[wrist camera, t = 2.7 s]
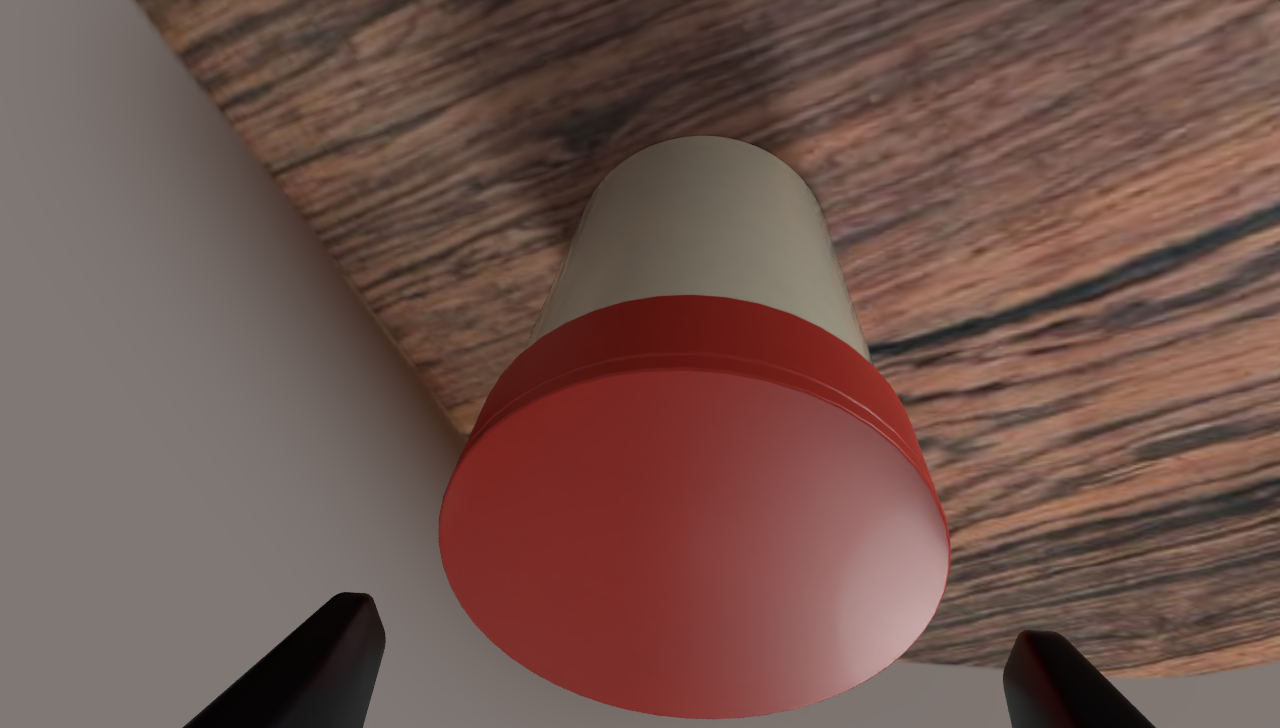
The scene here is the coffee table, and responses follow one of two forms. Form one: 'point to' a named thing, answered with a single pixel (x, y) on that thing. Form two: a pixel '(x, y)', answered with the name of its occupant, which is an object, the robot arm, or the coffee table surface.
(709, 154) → the jar
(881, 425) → the lid
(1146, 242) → the coffee table surface
